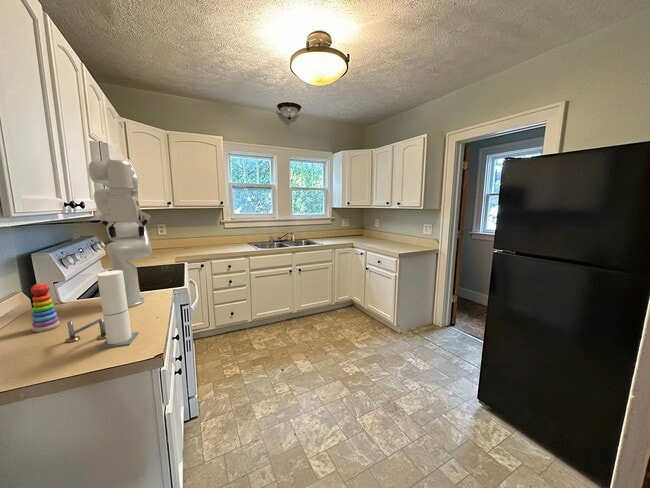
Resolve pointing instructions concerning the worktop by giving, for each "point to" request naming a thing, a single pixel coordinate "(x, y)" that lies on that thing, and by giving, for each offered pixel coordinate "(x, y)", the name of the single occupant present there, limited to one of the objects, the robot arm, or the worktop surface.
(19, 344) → the worktop surface
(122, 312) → the cylindrical container
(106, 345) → the mat
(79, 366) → the worktop surface
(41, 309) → the stacking toy
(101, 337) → the metal linkage
